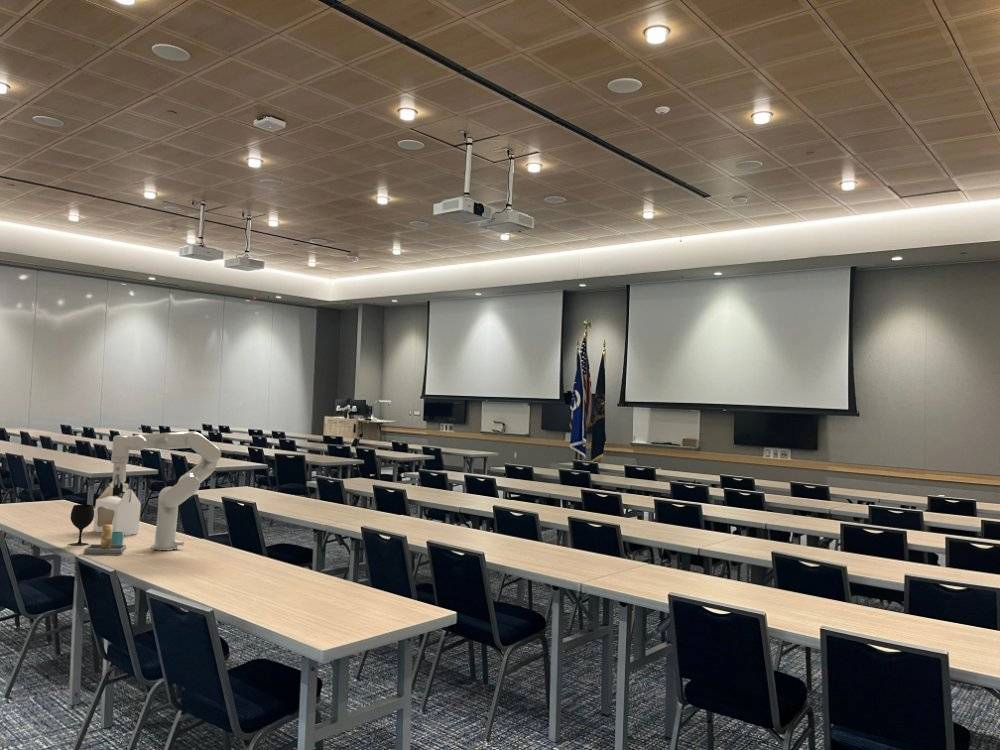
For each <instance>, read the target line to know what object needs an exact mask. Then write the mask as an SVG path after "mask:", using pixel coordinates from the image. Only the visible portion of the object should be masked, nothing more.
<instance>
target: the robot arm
mask: <svg viewBox="0 0 1000 750" xmlns="http://www.w3.org/2000/svg"><path fill="white" fill-rule="evenodd" d="M144 449H161V450H175V449H192V450H193V451H194V452H196V453H197V454H198V455H199V456H201V459H200V461H199V462H198V463H197V464H196V465H195V466H193V468H191V469H190V470H189V471H187V472H185V473H184V474H183V475H180V477H179V479H178V481H177V483H176V484H174V485H173V486H166V487H163V488H162V489H161V490H160V492H159V494H158V501H157V502H158V505H157V515H156V516H157V519H156V526H155V535H154V544H153V545H150V548H151V549H152V550H154V551H161V550H167V551H174V550H173V549H175V550H177V549H178V546H180V547H181V546H184V545H185V542H184V541H177V538H176V533H177V524H178V517H179V516H178V514H179V506H180V505H182V504H183V503H184V502H185V501H187V499H189V498H190V497H192V496H193V495H194V494H196V492H197V491H199V489H200V486H201V483H203V482H204V481H205V480H206V479H207V478H209V477H210V476H211V475H212V473H214V471H215V470H216V468H217V464H218V461H219V460H221V459H220V458H221V456H222V452H221V450H220V448H219V447H218V446H216V445H215V444H214V443H212V441H210V440H209V439H207V438H206V437H205V436H204V435H203V434H202V433H199V432H197V431H179V432H177V431H174V432H161V433H146V434H145V433H143V434H134V435H132V436H128V435H122V434H121V435H120V434H119V435H114V436H113V439H112V449H111V450H112V451H111V464H113V467H112V469H113V470H112V481H113V483H114V484H113V492H112V496H118V497H119V496H120V494H124V492H123V483H125V482H126V481H127V464H129V457H130V456H129V455H130V451H134V452H135V451H136V452H138V451H143V450H144ZM176 548H177V549H176Z"/></svg>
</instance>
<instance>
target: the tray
mask: <svg viewBox="0 0 1000 750" xmlns="http://www.w3.org/2000/svg"><path fill="white" fill-rule="evenodd" d="M100 546H101V543H100V544H99V543H98V544H95V543H93V544H91V543H90V544H89V545H87V546H86V547H85V548H84V552H83V555H95V556H97V555H104V554H121V555H123V553H124V552H125V550H126V549H127V545H126V544H123V545H111V549H100Z"/></svg>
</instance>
